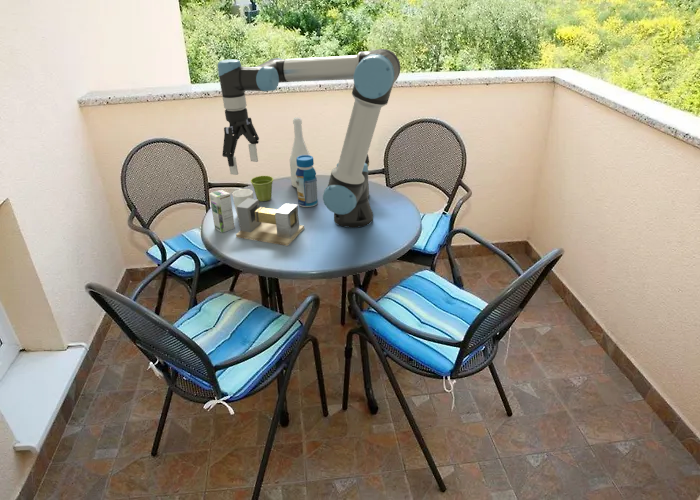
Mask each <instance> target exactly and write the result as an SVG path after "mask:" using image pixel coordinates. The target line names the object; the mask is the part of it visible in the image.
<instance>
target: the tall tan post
mask: <svg viewBox="0 0 700 500" xmlns="http://www.w3.org/2000/svg"><path fill="white" fill-rule="evenodd" d="M259 207H260V208H258V209H257V210H256V211H255V218H256V222H263V223H269V224H276V218H275V212H276V211H277V210H278V209H276V208H268V207H263V206H259ZM290 223H291V226H292V225H293V224H294V223H295V214H294V213H293V214H292V215H291V216H290Z"/></svg>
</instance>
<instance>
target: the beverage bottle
mask: <svg viewBox="0 0 700 500" xmlns="http://www.w3.org/2000/svg"><path fill="white" fill-rule="evenodd" d="M296 161H297V166H298V169H297V171H296V176H297V178H296V183H297V188H296V191H297V203H298V204H297V205H298V206H300V207H303V208H313V207H315V206H316V205H318V203H319V199H318V188H317V187H318V185H317V183H318V182H317V181H318V180H317V176H316V175H317V172H316V171H317V170H316V169H315V168H314V164H315V163H314V156H312V155H311V154H310V155H301V156H298V157H297V159H296Z"/></svg>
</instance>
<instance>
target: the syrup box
mask: <svg viewBox="0 0 700 500" xmlns="http://www.w3.org/2000/svg"><path fill="white" fill-rule="evenodd" d="M209 201H210V206H211V213H212V218H213V225H214V229H215V230H217V231H219V232H220V233H222V234H223V233H227V232H228V231H231V230H233V229H235V228H236V227H235V218H234V211H233V205H232V198H231V193H230V192H227V191H225V190H223V189H220V190H216V191H215V190H214V191H212V192H210V193H209Z"/></svg>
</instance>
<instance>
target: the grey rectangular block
mask: <svg viewBox="0 0 700 500" xmlns="http://www.w3.org/2000/svg"><path fill="white" fill-rule="evenodd" d="M298 206H299V204H294V203H287V202H286V203H283V205H281V206H280V207H279V208H278V209H277V211H276V212H275V218H276V227H277V237H282V238H288V239H290V238H291V237H292V236H293V235H294V234H295V233H296V232H297V231H298V230H299V225H300V221H299V220H300V219H299V218H300V217H299V207H298ZM293 213H294V214H295V223H294V224H293V225H292V226H291V223H290V216H291V215H292V214H293Z"/></svg>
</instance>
